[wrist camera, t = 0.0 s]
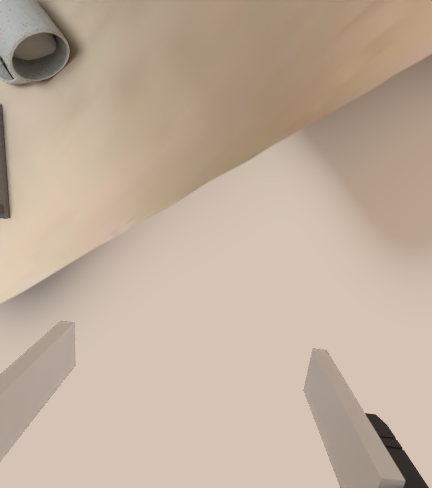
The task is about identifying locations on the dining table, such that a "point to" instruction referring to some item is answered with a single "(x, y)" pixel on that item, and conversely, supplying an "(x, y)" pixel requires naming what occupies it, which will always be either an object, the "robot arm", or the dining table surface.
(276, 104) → the dining table surface
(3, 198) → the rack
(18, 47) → the ceramic mug
